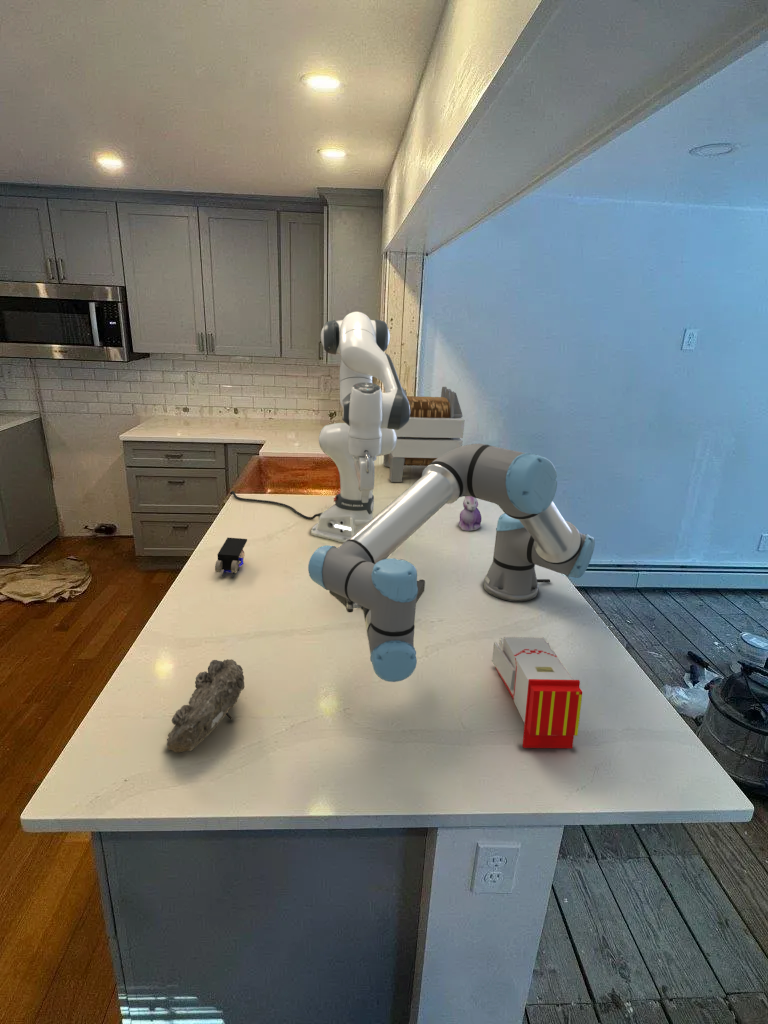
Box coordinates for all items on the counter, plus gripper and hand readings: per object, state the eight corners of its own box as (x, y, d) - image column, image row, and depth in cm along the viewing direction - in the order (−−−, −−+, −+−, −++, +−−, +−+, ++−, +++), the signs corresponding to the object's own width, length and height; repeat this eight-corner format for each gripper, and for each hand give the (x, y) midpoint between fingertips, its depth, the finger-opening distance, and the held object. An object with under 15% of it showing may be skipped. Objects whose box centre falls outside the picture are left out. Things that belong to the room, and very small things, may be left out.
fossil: (192, 660, 117) (244, 628, 112) (224, 691, 120) (276, 661, 115) (142, 746, 98) (202, 712, 93) (182, 779, 101) (242, 748, 96)
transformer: (382, 463, 289) (386, 382, 275) (445, 464, 293) (451, 384, 279) (390, 482, 257) (394, 392, 243) (460, 483, 261) (468, 394, 247)
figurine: (467, 533, 203) (471, 493, 198) (451, 523, 211) (454, 485, 206) (488, 529, 207) (492, 490, 202) (471, 520, 215) (475, 482, 210)
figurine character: (238, 584, 162) (249, 557, 175) (236, 562, 158) (247, 536, 172) (215, 584, 161) (227, 556, 175) (212, 561, 158) (225, 535, 171)
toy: (540, 620, 128) (592, 687, 99) (535, 674, 131) (584, 755, 102) (487, 619, 128) (523, 686, 99) (483, 673, 131) (517, 754, 101)
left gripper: (381, 456, 140) (378, 509, 145) (373, 438, 159) (371, 485, 164) (355, 456, 139) (354, 509, 144) (350, 437, 158) (349, 485, 163)
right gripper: (318, 637, 107) (317, 585, 127) (447, 634, 110) (427, 584, 130) (318, 602, 105) (317, 555, 124) (450, 600, 108) (429, 554, 127)
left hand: (363, 496), depth 154 cm, fingers open, 8 cm apart
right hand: (373, 570), depth 127 cm, fingers open, 13 cm apart
